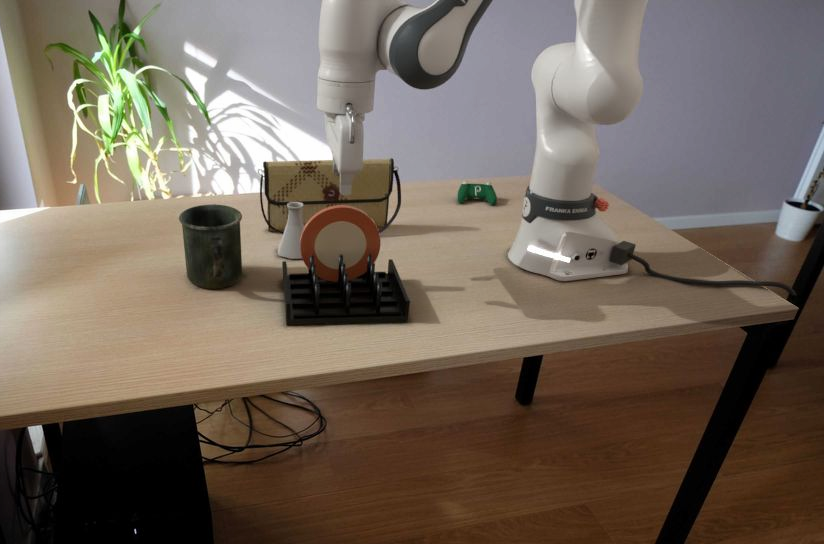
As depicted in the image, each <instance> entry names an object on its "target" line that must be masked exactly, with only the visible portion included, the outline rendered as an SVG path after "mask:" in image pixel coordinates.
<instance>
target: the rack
mask: <svg viewBox="0 0 824 544" xmlns="http://www.w3.org/2000/svg"><path fill="white" fill-rule="evenodd" d="M371 260H372V255H371V254H368V259H367V272H365V273H364V274H363V275H361V276H359V277H357V278H355V279H352V280H349V281H348V273H345V267H346V265H345V264H344V263H343V255H342V254H341V255H339V271H338V282H333V281H328V280H324V279H322V278H320V277H318V275H317V274H316V265H315V264H314V255H311V256H310V270H309V269H308V268H307V270H308V271H307V272H300V273H299V272H298V273H296V272H295V273H289V274H288V265H287V261H285V260H284V261H283V260H282V261H281V263H282V264H281V265H282V269H281V270H282V271H281V273H282V290H283V291H282V292H283V301H284V303H283V305H284V313H285V314H284V316H285V324H286V325H285V326H287V327H289V326H290V327H291V326H293V327H294V326H323V325H324V326H325V325H326V326H327V325H358V324H360V325H361V324H362V325H363V324H396V323H397V324H398V323H409V317H410V306H411V300H410V298H409V295H408V293H407V291H406V288H405V285H404V284H403V281H402V278H401V277H400V273H399V272H398V269H397V266H396V265H395V262H394V260H393V259H390V258H389V259H388V261H387V262H388V263H387V264H388V265H387V272H386V271H375V270H376V269H375V268H376V263H375V262H374V263H371Z"/></svg>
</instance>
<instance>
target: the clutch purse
mask: <svg viewBox="0 0 824 544" xmlns="http://www.w3.org/2000/svg"><path fill="white" fill-rule="evenodd" d="M262 167H263V169H262V168H259V169H257V173H258V175H259V176H260V183H259V201H260V208H261V209H260V210H261V213H262V216H263V219H264V221H265V223H266V225H267V231H268V232H270V231H274V232H276V233H279V234H280V235H283V233H284V231H285V228H286V225H287V221H288V215H289V209H288V207H287V204H288V203H290V202H300V203H303V208H302V219H303V224H304V226H305V225H306V223H307V222H308V221H309V219H310V218H311V217H312V216H313V215H315V214H316V213H317V212H319V211H321V210H323V209H325V208H327V207H330V206H335V205H348V206H353V207H356V208H358V209H360V210H362V211H364V212H365V213H367V214H368V215H369V216H370V217H371V218H372V219H373V221H374V223H375V224H376V226H377V227H381V228H380V229H378V231H379V234H381V233H383V232H384V231H385V230H387V229H388V227H389V226H390V225H392V223H393V221H395V219H396V218H397V216H398V214H399V212H400V210H401V205H402V186H401V180H400V176H399V167H398V166H395V161H394V158H392V157H391V158H363V167H362V171H361V173H360V174H354V178H353V182H352V188H351V194H350V195H341V194H340V191H339V182H340V176H335V175H334V174H333V159H322V160H321V159H320V160H319V159H317V160H282V161H277V160H276V161H266V160H265V161H262ZM396 168H397V169H396ZM259 171H261V173H260V172H259ZM394 178H395V181H396V182H395V183H396V191H397V204H396V208H395V210H394V213H393V215H392V217H391V218H390V219H389V221H388V218H389V217H388V216H389V205H390V196H391V195H392V192H393V188H394V187H393V186H394ZM263 181H264V196H265V198H266V213H265V209H264V202H263Z"/></svg>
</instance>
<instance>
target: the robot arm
mask: <svg viewBox="0 0 824 544" xmlns="http://www.w3.org/2000/svg"><path fill="white" fill-rule="evenodd" d="M493 1H494V0H435V1H434V2H432V4H430V5H429V6H426V7H424V8H421V7H419V6H414V5H413V4H410V3H408V2H405V1H403V0H321V4H320V5H321V6H320V12H319V13H320V14H319V24H318V42H317V43H318V44H317V45H318V46H317V47H318V51H319V55H320V63H319V67H318V71H317V82H316V83H317V84H316V87H317V88H316V108H317V109H318V110H319V111H321V112H323V114H324V129H325V137H326V142H327V144H328V147H329V149H330V152H331V155H332V160H333V174H334V175H335V176H340V182H339V191H340V194H341V195H350V194H351V188H352V182H353V178H354V174H360V173H361V171H362V167H363V159H364V141H365V139H364V138H365V137H364V133H365V132H364V130H365V129H364V123H363V122H364V121H365V120H366V114H368V113H371V112H372V111H373V110H374V107H375V106H374V105H375V91H376V90H375V89H376V78H377V77H376V75H377V73H378V72H379V71H388V72H389V73H391V74H393V75H394V76H397V77H398V78H399V79H400V80H402V82H404V83H405V84H406V85H408V86H409V87H411V88H413V89H417V90H422V91H423V90H425V91H426V90H433V89H436V88H438V87H440V86H442V85H444V84H445V83H447V82H448V81H449V80H450V79H451V78H452V77H453V76H455V74H456V72H457V71H458V69H459V67H460V65H461V64H462V61H463V59H464V56H465V53H466V50H467V47H468V45H469V42H470V39H471V37H472V35H473V32H474V31H475V29H476V27H477V25H478V24H479V22H480V21H481V19H482V17H483V16H484V14H485V13H486V11H487V10H488V8H489V7H490V5H491V4H492V2H493ZM648 2H649V0H573V4H574V5H573V6H574V11H575V16H576V26H575V27H576V30H575V39H574V42H573V41H571V42H560V43H557V44H553V45H550V46H548V47H547V48H545V49H544V50H543V51H541V53H540V54H539V55H538V56H537V57H536V59H535V60H534V63H533V65H532V68H531V72H530V73H531V74H530V75H531V76H530V79H531V83H532V87H533V90H534V96H535V117H536V119H535V120H536V142H535V143H536V144H535V153H534V158H533V159H534V160H533V163H532V170H531V176H530V181H529V185H528V186H527V187H526V189H525V194H524V199H523V202H522V209H521V221H520V224H519V227H518V230H517V232H516V235H515V238H514V240H513V243H512V245H511V247H510V248H509V250H508V253H507V257H508V259H509V261H510V262H512V264H513V265H515V266H517V267H518V268H520V269H523V270H525V271H528V272H531V273H535V274H539V275H542V276H546V277H548V278H551V279H553V280H555V281H559V282H569V281H578V280H579V281H580V280H584V279H586V280H587V279H595V278H601V277H602V278H603V277H610V276H618V275H624V274H625V275H626V274H627V273H628V271H629V264H628V262H630V261H631V260H633V261H635V262H638V263H639V264H641V266H643V267H644V271H645V272H646V273H647V274H649V275H651V276H653V277H657V278H661V279H664V280H665V279H666V280H670V281H673V282H678V283H682V284H690V285H699V286H709V287H710V286H711V287H720V286H751V287H775V288H780V289H783V290H785V291H786V292H787V293H788V294H789V295H790V296H797V292H796V291H795V290H794V289H793V288H792V287H791V286H790V285H788V284H785V283H783V282H779V281H768V280H767V281H765V280H764V281H761V280H760V281H757V280H743V279H741V280H739V279H738V280H735V279H733V280H703V279H696V278H684V277H677V276H671V275H667V274H664V273H663V274H662V273H660V272H657V271H655V270H653V269H651V267H650V264H649V262H647V261H646V260H645V259H644V258H641V257H639V256H637V255H636V254H634V252H635V249H636V246H637V245H636V243H632V242H630V241H626V240H623V241H620V240H619V239H620V238H619V236H618V234H617V233H616V232H615V230H614V229H613V228H612V227H611V226H610V225H609V224H608V223H607V222H606V221H605V220H604V219H603V218H602V217H601V216H599V214H597V211H596V210H598V211H599V212H606V211H607V210H608V209H609V207H610V206H609V205H610V203H609V201H607V200H605V199H604V198H602V197H600V198H599V196H597V195H596V194H594V193H593V192H592V191H593V187H594V182H595V179H596V174H597V170H598V166H599V161H600V157H601V149H600V146H599V142H598V139H597V133H596V125H598V126H611V125H616V124H618V123H621V122H623V121H624V120H626V119H627V118H628V117H630V116H631V114H633V113H634V112H635V110H636V109H637V107H638V105H639V104H640V102H641V100H642V96H643V93H644V80H643V77H642V74H641V71H640V65H639V54H640V42H641V35H642V28H643V22H644V18H645V17H644V16H645V13H646V9H647V6H648Z"/></svg>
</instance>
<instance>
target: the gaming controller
mask: <svg viewBox="0 0 824 544" xmlns="http://www.w3.org/2000/svg"><path fill="white" fill-rule="evenodd" d="M468 181H469V180H464V181H463V182H462V183H461V184H460V186H459V188H458V191H457V202H458V203H459V204H464V203H465V201H466V200H467V199H468V200H472V199H477V200H481V201H484V200H486V201H487V202H488V204H489V205H491V206H496V205H497V202H498V197H497V193H496V191H495V189H494V187H493V185H492V182H491V181H486V184H485V183H469V182H468Z"/></svg>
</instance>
